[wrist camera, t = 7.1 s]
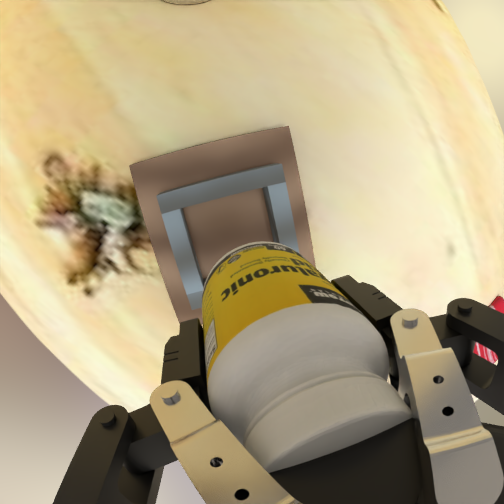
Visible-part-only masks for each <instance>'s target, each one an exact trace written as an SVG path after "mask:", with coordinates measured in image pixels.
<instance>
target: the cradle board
mask: <svg viewBox="0 0 504 504" xmlns="http://www.w3.org/2000/svg"><path fill="white" fill-rule="evenodd" d="M129 166H130V170H131V174H132V178H133V182H134V185H135V189H136V193H137V196H138V200H139V204H140V207H141V210H142V214H143V217H144V221H145V224H146V227H147V231H148V234H149V237H150V240H151V243H152V247H153V250H154V253H155V256H156V259H157V262H158V265H159V268H160V271H161V274H162V277H163V279H164V282H165V285H166V288H167V291H168V294H169V296H170V299H171V302H172V305H173V307H174V310H175V313H176V315H177V318H178V321H179V323H180V322H183V321H187V320H191V319H195V318H199V320H200V322H201V324H203V318H202V294H203V289H204V285H205V282H206V279H207V277H208V275H209V273H210V271H211V269H212V268H213V266H214V265H215V264H216V263H217V262H218V261H219V260H220V259H221V258H222V257H223V256H224V255H225V254H227V253H228V252H230V251H231V250H233V249H235V248H237V247H239V246H242V245H245V244H248V243H253V242H263V241H264V242H274V243H279V244H282V245H285V246H288V247H290V248H292V249H293V250H295V251H296V252H298V253H299V254H301V255H302V256H303V257H304V258H305V259H307V260H308V261H309V262H310V263H311V264H312V265H313V266H314V267H315V260H314V254H313V248H312V242H311V236H310V230H309V224H308V219H307V213H306V208H305V202H304V197H303V192H302V187H301V181H300V176H299V171H298V166H297V162H296V157H295V152H294V147H293V143H292V138H291V134H290V129H289V126H285V127H280V128H274V129H269V130H264V131H259V132H254V133H249V134H244V135H239V136H235V137H230V138H226V139H222V140H217V141H213V142H209V143H205V144H201V145H197V146H194V147H190V148H186V149H182V150H179V151H175V152H172V153H168V154H165V155H161V156H158V157H154V158H151V159H148V160H145V161H141V162H138V163H135V164H132V165H129ZM315 268H316V267H315Z"/></svg>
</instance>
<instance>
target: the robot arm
mask: <svg viewBox="0 0 504 504" xmlns="http://www.w3.org/2000/svg"><path fill="white" fill-rule="evenodd" d="M163 1H166V2H168V3H174V4H197V3H202V2H205V1H209V0H163ZM331 283H332V284H333V285H334V286H335V287H336V288H337V289H338V290H339V291H340V292H341V293H342V294H343V295H344V296H345V297H346V298H347V299H348V300H349V301H350V302H351V303H352V304H353V305H354V306H355V307H356V308H357V309H358V310H359V311H361V312H362V313H363V314H364V315H365V317H366V318H367V319H368V320H369V321H370V322H371V324H372V325H373V326H374V327H375V328H376V329H377V331H378V332H379V333H380V335H381V336H382V338H383V340H384V342H385V345H386V348H387V351H388V356H389V374H388V383H389V384H391V385H392V386H393V387H394V388H395V389H396V390H397V392H398V394H399V395H400V397H401V398H402V399H403V401H404V402H405V403H406V404H407V406H408V407H409V408H410V409H411V411H412V416H413V417H412V418H410V419H408V420H406V421H404V422H402V423H400V424H398V425H396V426H394V427H392V428H390V429H388V430H385V431H383V432H381V433H379V434H377V435H374V436H372V437H370V438H368V439H365V440H363V441H361V442H358V443H356V444H353V445H351V446H348V447H346V448H343V449H341V450H338V451H335V452H333V453H330V454H327V455H324V456H321V457H318V458H316V459H313V460H310V461H307V462H304V463H301V464H298V465H294V466H291V467H288V468H284V469H281V470H277V471H274V472H270V473H268V472H267V471H266V470H265V469H264V468H263V467H262V466H261V465H260V464H259V463H258V462H257V461H256V460H255V459H254V458H253V456H252V455H251V454H250V453H249V452H248V451H247V450H246V449H245V448H244V447H243V445H242V444H241V443H240V442H239V441H238V440H237V439H236V437H235V436H234V435H233V434H232V433H231V432H230V430H229V429H228V428H227V427H226V426H225V425H224V423H223V422H222V421H221V420H220V419H217V420H216V419H215V418H214V417H213V415H212V412H211V408H210V404H209V398H208V392H207V381H206V366H205V353H204V336H203V328H202V325H201V322H200V320H199V318H195V319H191V320H187V321H183V322H180V333H179V335H177V336H173V337H171V338H170V339H169V340H168V342H167V343H166V345H165V350H164V359H163V361H164V363H163V369H162V379H161V385H160V386H159V387H157V388H156V389H155V390H154V391H153V392H152V394H151V396H150V404H148V405H147V406H145V407H142V408H140V409H138V410H135V411H133V412H130V413H128V412H127V410H126V409H125V408H124V407H122V406H119V405H110V406H107V407H104V408H102V409H100V410H99V411H98V412H97V413H96V414H95V415H94V416H93V417H92V419H91V421H90V423H89V425H88V427H87V429H86V432H85V433H84V436H83V438H82V440H81V442H80V444H79V446H78V448H77V450H76V452H75V455H74V457H73V459H72V461H71V463H70V465H69V467H68V470H67V472H66V474H65V476H64V479H63V481H62V483H61V485H60V488H59V490H58V492H57V495H56V497H55V499H54V502H53V504H155V503H156V498H157V495H158V490H159V486H160V482H161V478H162V474H163V469H164V466H165V465H167V464H169V463H171V462H174V461H177V460H179V462H180V463H181V465H182V467H183V468H184V470H185V471H186V473H187V475H188V477H189V478H190V480H191V481H192V483H193V484H194V486H195V488H196V489H197V491H198V492H199V494H200V495H201V497H202V498H203V500H204V501H205V503H206V504H504V427H503V426H497V425H492V424H487V423H482V422H481V421H480V418H479V415H478V412H477V409H476V407H475V404H474V401H473V398H472V395H471V394H473V395H474V396H476V397H477V398H479V399H480V400H482V401H483V402H485V403H486V404H488V405H489V406H491V407H492V408H494V409H495V410H497V411H498V412H500V413H501V414H503V415H504V313H501V312H499V311H497V310H495V309H493V308H490V307H488V306H486V305H484V304H481V303H479V302H477V301H475V300H472V299H467V298H459V299H455V300H453V301H451V302H450V303H449V304H448V306H447V314H444V315H440V316H435V317H428V315H427V314H426V313H424V312H423V311H421V310H417V309H404V310H403V309H402V308H401V307H400V306H398V305H397V304H396V303H395V302H393V301H392V300H391V299H390V298H388V297H386V295H384V294H383V293H382V292H380V291H379V290H378V289H377V288H376V287H374V286H373V285H370V284H367V283H364V282H362V283H358V282H357V281H356V280H354V279H353V278H352V277H351V276H349V275H346V276H343V277H340V278H337V279H334V280H331ZM476 342H477V343H479V344H481V345H483V346H484V347H486V348H488V349H490V350H492V351H493V352H495V354H496V355H497V357H498V364H497V366H496V365H495V364H493V363H491V362H489V361H488V360H486V359H484V358H482V357H481V356H479V355H477V354H475V353H473V352H474V348H475V343H476Z"/></svg>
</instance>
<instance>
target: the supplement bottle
mask: <svg viewBox="0 0 504 504" xmlns="http://www.w3.org/2000/svg"><path fill="white" fill-rule="evenodd" d="M202 318H203V336H204V353H205V366H206V381H207V392H208V398H209V404H210V408H211V412H212V415H213V417H214V418H215V419H216V420H217V419H220V420H221V421H222V422H223V423H224V425H225V426H226V427H227V428H228V429H229V430H230V432H231V433H232V434H233V435H234V436H235V437H236V439H237V440H238V441H239V442H240V443H241V444H242V445H243V447H244V448H245V449H246V450H247V451H248V452H249V453H250V454H251V455H252V456H253V458H254V459H255V460H256V461H257V462H258V463H259V464H260V465H261V466H262V467H263V468H264V469H265V470H266V471H267V472H268V473H270V472H274V471H277V470H281V469H284V468H288V467H291V466H294V465H298V464H301V463H304V462H307V461H310V460H313V459H316V458H318V457H321V456H324V455H327V454H330V453H333V452H335V451H338V450H341V449H343V448H346V447H348V446H351V445H353V444H356V443H358V442H361V441H363V440H365V439H368V438H370V437H372V436H374V435H377V434H379V433H381V432H383V431H385V430H388V429H390V428H392V427H394V426H396V425H398V424H400V423H402V422H404V421H406V420H408V419H410V418H412V417H413V416H412V411H411V409H410V408H409V407H408V406H407V404H406V403H405V402H404V401H403V399H402V398H401V397H400V395H399V394H398V392H397V390H396V389H395V388H394V387H393V386H392V385H391V384H389V383H388V382H387V379H388V374H389V356H388V351H387V348H386V345H385V342H384V340H383V338H382V336H381V335H380V333H379V332H378V331H377V329H376V328H375V327H374V326H373V325H372V324H371V322H370V321H369V320H368V319H367V318H366V317H365V315H364V314H363V313H362V312H361V311H359V310H358V309H357V308H356V307H355V306H354V305H353V304H352V303H351V302H350V301H349V300H348V299H347V298H346V297H345V296H344V295H343V294H342V293H341V292H340V291H339V290H338V289H337V288H336V287H335V286H334V285H333V284H332V283H331V282H330V281H328V280H327V279H326V278H325V277H324V276H323V275H322V274H321V273H320V272H319V271H318V270H317V269H316V268H315V267H314V266H313V265H312V264H311V263H310V262H309V261H308V260H307V259H305V258H304V257H303V256H302V255H301V254H299V253H298V252H296V251H295V250H293V249H292V248H290V247H288V246H285V245H282V244H279V243H274V242H264V241H263V242H253V243H248V244H245V245H242V246H239V247H237V248H235V249H233V250H231V251H230V252H228V253H227V254H225V255H224V256H223V257H222V258H221V259H220V260H219V261H218V262H217V263H216V264H215V265H214V266H213V268H212V269H211V271H210V273H209V275H208V277H207V279H206V282H205V285H204V289H203V294H202Z"/></svg>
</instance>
